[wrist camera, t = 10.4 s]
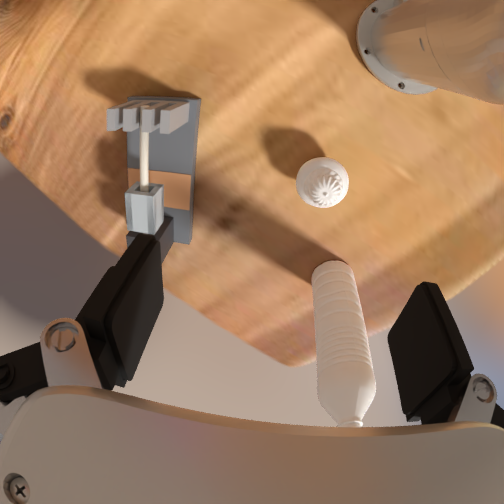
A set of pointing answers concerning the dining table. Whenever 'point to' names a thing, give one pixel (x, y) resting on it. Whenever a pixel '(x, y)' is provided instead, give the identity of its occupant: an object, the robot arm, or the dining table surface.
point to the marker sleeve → (144, 208)
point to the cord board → (162, 157)
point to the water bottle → (341, 345)
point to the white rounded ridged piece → (322, 182)
